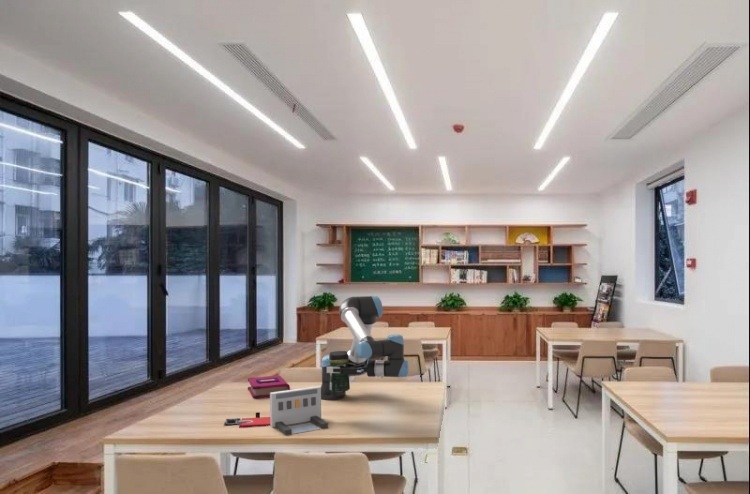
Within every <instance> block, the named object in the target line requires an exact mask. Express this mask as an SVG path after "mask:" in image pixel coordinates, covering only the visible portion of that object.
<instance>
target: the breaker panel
mask: <svg viewBox="0 0 750 494" xmlns="http://www.w3.org/2000/svg"><path fill="white" fill-rule="evenodd" d="M269 413H270V414H269V417H270V427H271V428H276V427H275V422H281V421H282V422H283V423H284V424H286V425H287V426H290V425H294V424H300V423H307V422H311V418H310V417H311V416H318V417H319V418H321V419H322V399H321V386H320V385H316V386H310V387H309V386H308V387H302V388H301V387H300V388H295V389H290V390H286V391H278V392H271V393H270V397H269Z"/></svg>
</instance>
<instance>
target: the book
mask: <svg viewBox="0 0 750 494" xmlns="http://www.w3.org/2000/svg"><path fill="white" fill-rule="evenodd" d="M247 382H248V383H249V384H250V386H248V387H247V391H248V392H249V393H250V395H251V397H252V399H253V400H255V399H257V400H258V399H264V398H265V397H266V398H270V393H271V392H278V391H286V390H291V387H290V386H291V385H289V383H288V382H287V381H286V380H285V379H284V378H283V377H282V376H281V375H280V374H277V375H268V376H267V375H266V376H257V377H248V378H247Z"/></svg>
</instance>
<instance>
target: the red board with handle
mask: <svg viewBox="0 0 750 494" xmlns="http://www.w3.org/2000/svg"><path fill="white" fill-rule="evenodd" d="M260 415H261V412H258V411H257V412H255V417H246V418H245V417H244V418H240V417H239V418H237V417H236V418H226V419H225V421H224V424H223V425H236V424H237V425H238V427H239V429H240V427H243V428H253V427H252V426H258V427H269V426H268V425H270V416H264V417H261V416H260ZM266 425H267V426H266Z"/></svg>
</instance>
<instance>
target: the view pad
mask: <svg viewBox="0 0 750 494" xmlns="http://www.w3.org/2000/svg"><path fill="white" fill-rule="evenodd" d="M288 427H289V428H291V429H292V433H293V435H295V434H296V435H297V434H300V433H307V432H312V431H318V430H320V427H319V426H317V425H316V424H314V423H313V422H308V423H307V422H305V423H303V424H297V425H288Z"/></svg>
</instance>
